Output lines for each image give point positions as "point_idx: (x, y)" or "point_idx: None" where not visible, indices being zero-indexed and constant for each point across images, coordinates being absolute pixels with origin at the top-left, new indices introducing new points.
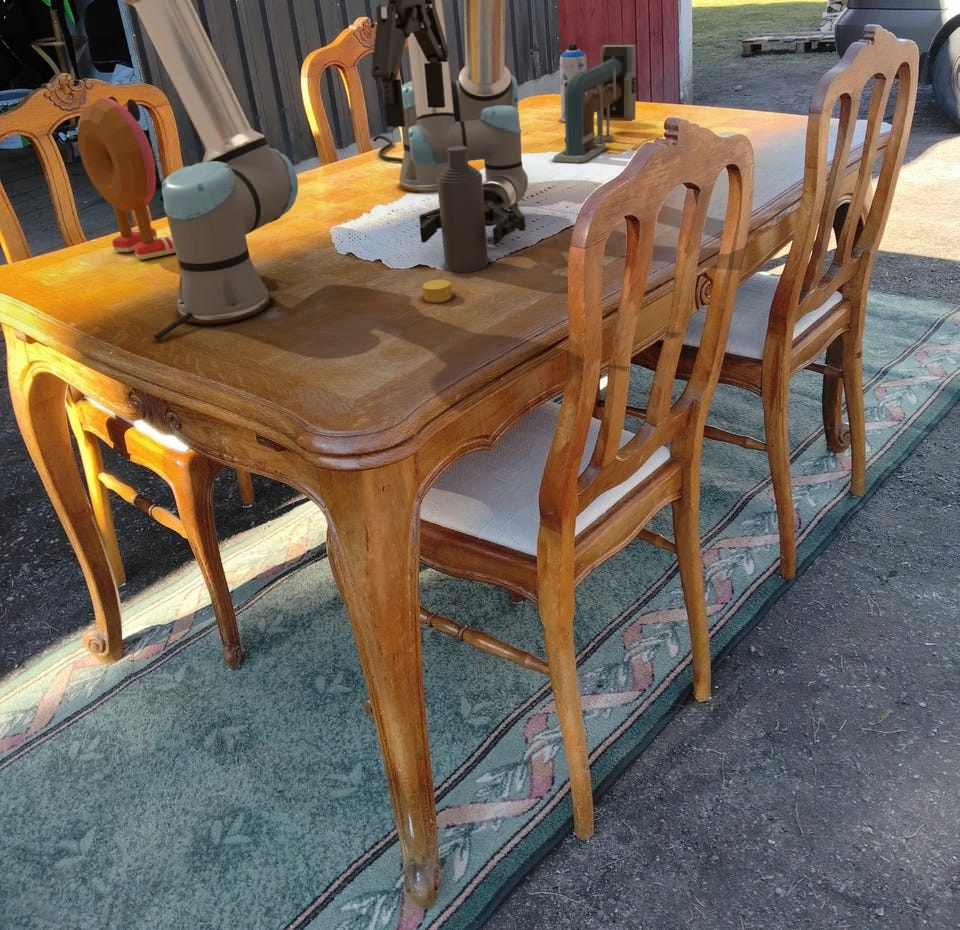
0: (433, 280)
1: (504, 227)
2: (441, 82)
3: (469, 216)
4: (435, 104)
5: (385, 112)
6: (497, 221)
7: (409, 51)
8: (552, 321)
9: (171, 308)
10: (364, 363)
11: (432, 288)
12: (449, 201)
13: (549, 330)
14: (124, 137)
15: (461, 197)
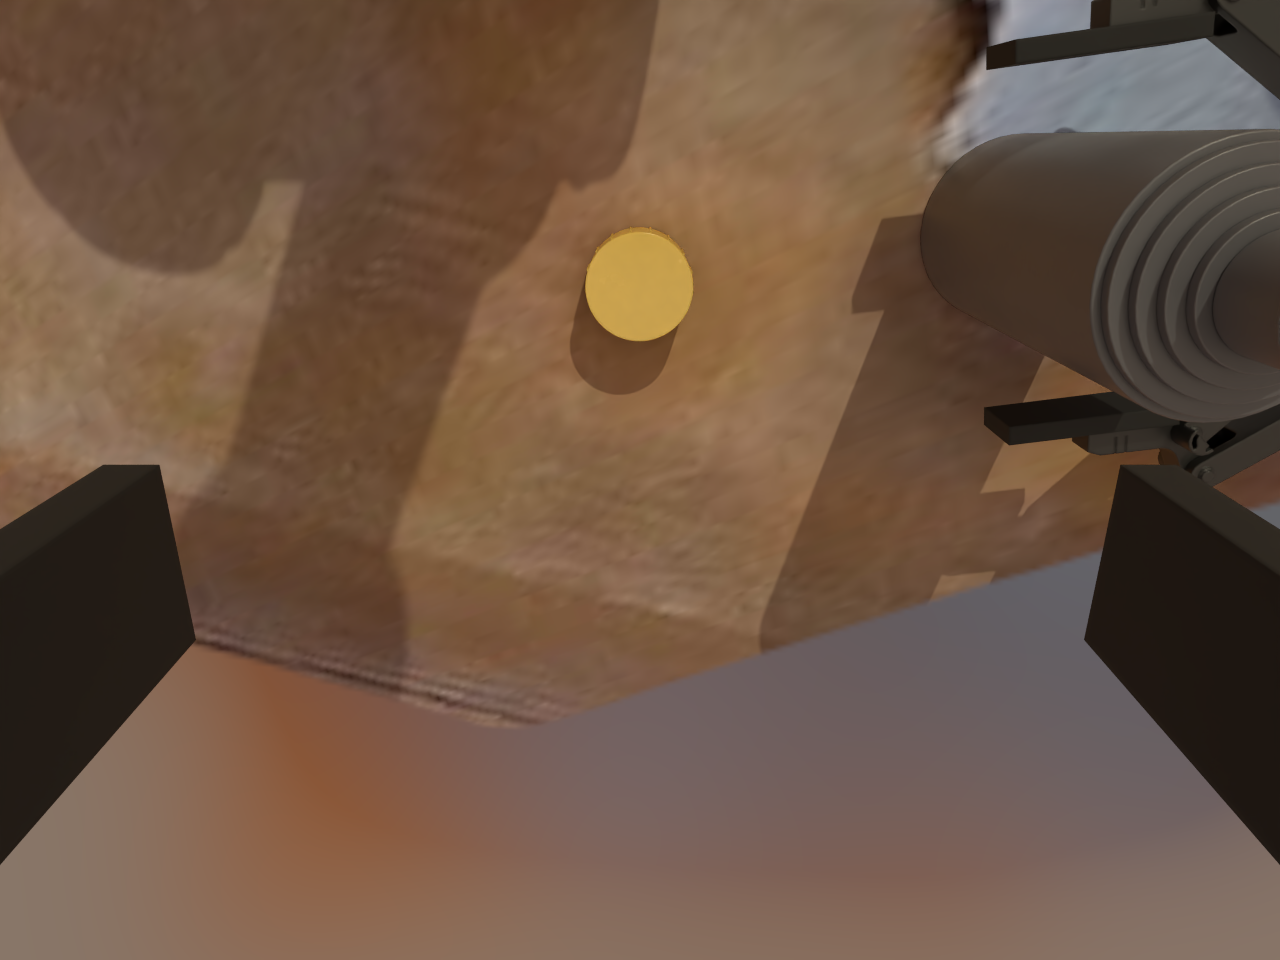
0: (676, 255)
1: (1088, 437)
2: (1261, 827)
3: (1027, 337)
4: (1119, 572)
5: (9, 525)
6: None
7: None
8: (546, 704)
9: None
10: (49, 303)
11: (593, 292)
12: (1043, 257)
13: (483, 716)
14: None
15: (1056, 331)
